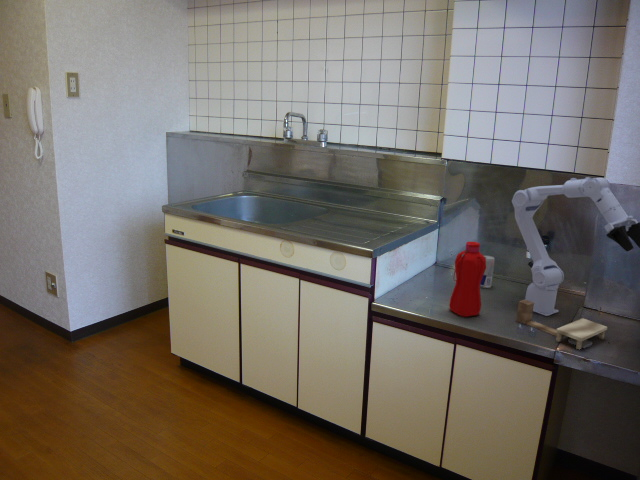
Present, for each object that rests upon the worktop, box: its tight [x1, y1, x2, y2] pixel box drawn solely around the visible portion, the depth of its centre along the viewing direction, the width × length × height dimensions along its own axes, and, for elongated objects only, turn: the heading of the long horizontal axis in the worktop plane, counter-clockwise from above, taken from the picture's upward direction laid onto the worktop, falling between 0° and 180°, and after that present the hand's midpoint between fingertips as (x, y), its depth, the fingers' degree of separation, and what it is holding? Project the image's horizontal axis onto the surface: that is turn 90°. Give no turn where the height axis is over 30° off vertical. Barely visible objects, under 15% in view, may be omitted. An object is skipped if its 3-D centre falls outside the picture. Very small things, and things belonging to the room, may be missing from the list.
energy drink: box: [480, 254, 496, 289], centre depth 214 cm, size 5×5×12 cm
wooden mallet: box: [515, 299, 557, 337], centre depth 178 cm, size 15×4×7 cm, turn 38°
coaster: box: [567, 338, 593, 349], centre depth 168 cm, size 5×5×1 cm
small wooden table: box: [555, 317, 608, 351], centre depth 171 cm, size 8×16×4 cm, turn 128°
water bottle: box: [448, 241, 486, 318], centre depth 185 cm, size 9×11×25 cm
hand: (637, 248), depth 164 cm, fingers open, 7 cm apart
